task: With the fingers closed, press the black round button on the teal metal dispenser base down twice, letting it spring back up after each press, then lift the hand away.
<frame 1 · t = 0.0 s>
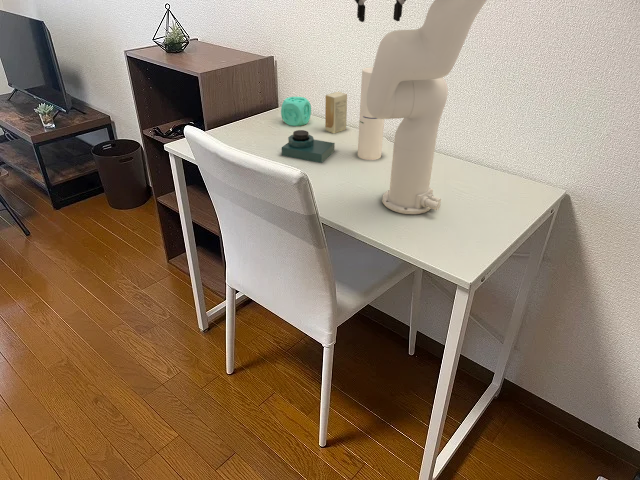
hand: (379, 20, 130), 37 cm above the table, tool pointing down, fingers open, 9 cm apart
button: (300, 136, 147), point 5 cm above the table, slide at 0.1 cm
dispenser base: (308, 153, 149), on the table
decorative dice: (296, 122, 173), on the table
cylindrical container: (369, 155, 148), on the table
cosmetic box: (335, 130, 166), on the table
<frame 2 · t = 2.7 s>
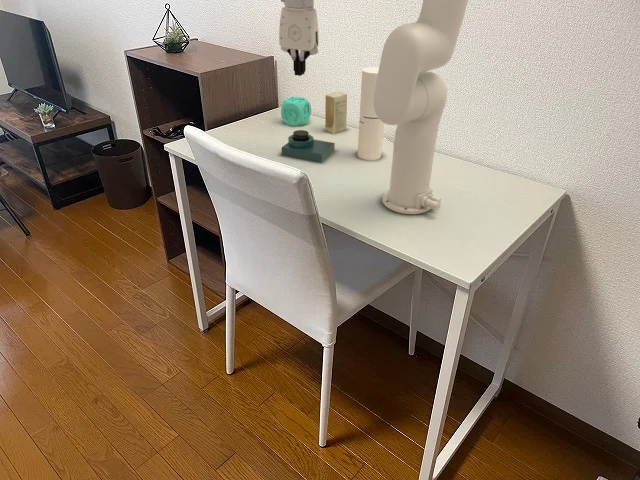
hand: (299, 74, 138), 23 cm above the table, tool pointing down, fingers closed
nothing on the table moved.
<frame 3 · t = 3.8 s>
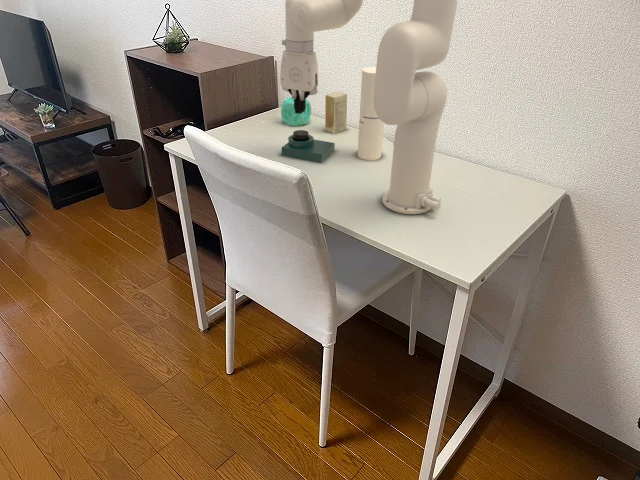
hand: (299, 112, 143), 12 cm above the table, tool pointing down, fingers closed
nothing on the table moved.
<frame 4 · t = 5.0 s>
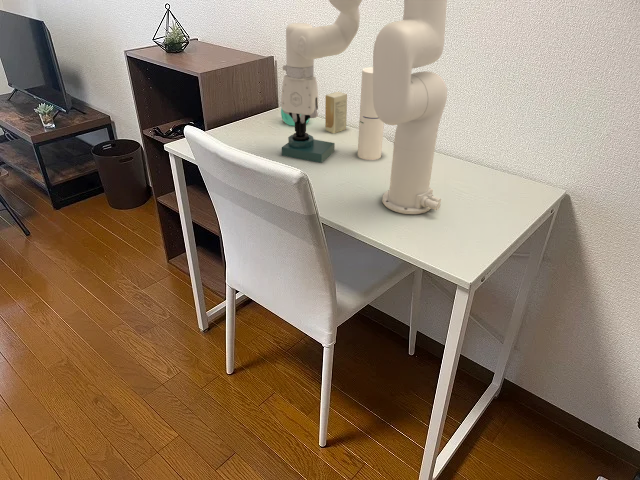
hand: (300, 134, 147), 6 cm above the table, tool pointing down, fingers closed
button: (300, 137, 147), point 5 cm above the table, slide at -0.5 cm, touching gripper
everything else where it was.
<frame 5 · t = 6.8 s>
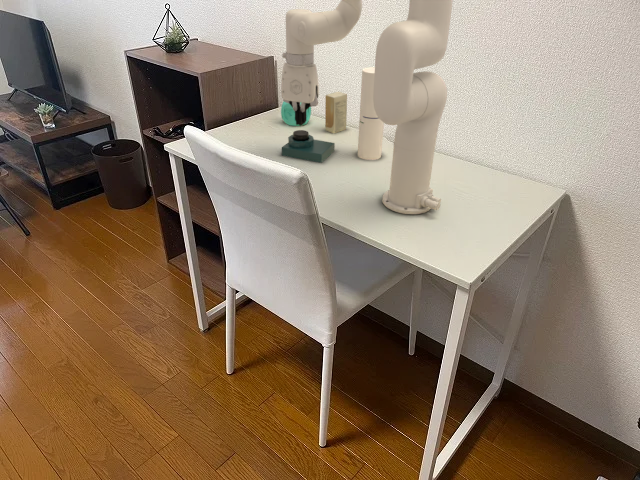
hand: (300, 123, 145), 9 cm above the table, tool pointing down, fingers closed
button: (300, 136, 147), point 5 cm above the table, slide at 0.1 cm
everything else where it was.
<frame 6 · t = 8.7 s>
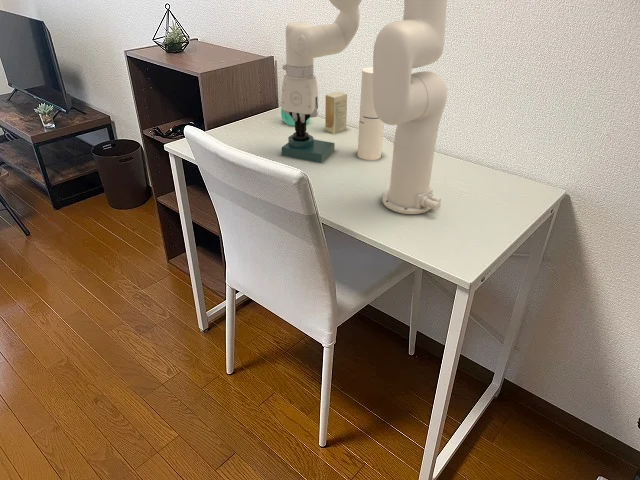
hand: (300, 133, 147), 6 cm above the table, tool pointing down, fingers closed
button: (300, 137, 147), point 5 cm above the table, slide at -0.3 cm, touching gripper
everything else where it was.
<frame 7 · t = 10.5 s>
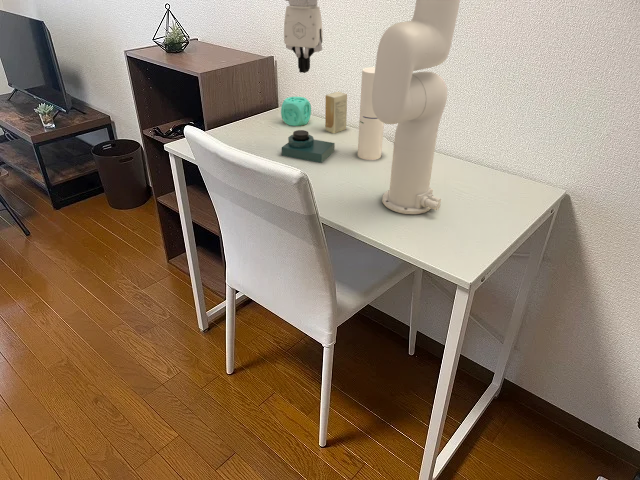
hand: (304, 71, 140), 23 cm above the table, tool pointing down, fingers closed
button: (300, 136, 147), point 5 cm above the table, slide at 0.1 cm
everything else where it was.
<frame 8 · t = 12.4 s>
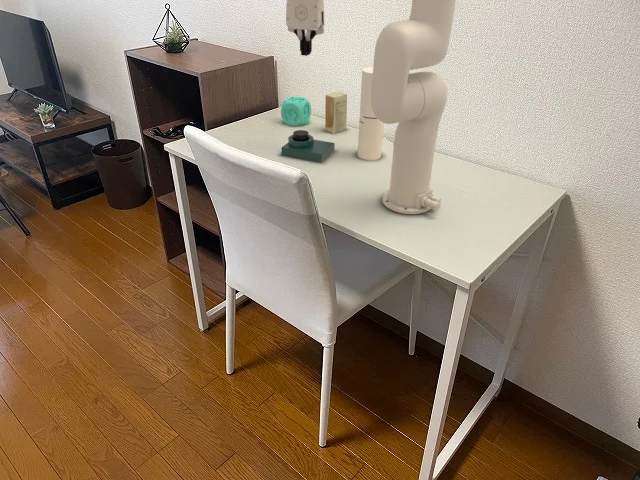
hand: (305, 54, 141), 27 cm above the table, tool pointing down, fingers closed
nothing on the table moved.
at the end: button pushed in 1.1 cm at the most during the clip, back to where it started at the end; button slide at 0.1 cm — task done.
